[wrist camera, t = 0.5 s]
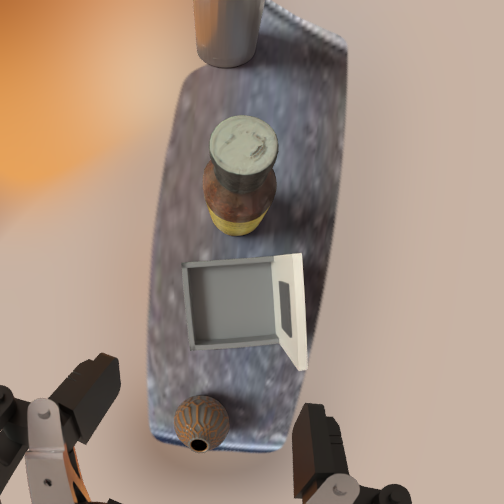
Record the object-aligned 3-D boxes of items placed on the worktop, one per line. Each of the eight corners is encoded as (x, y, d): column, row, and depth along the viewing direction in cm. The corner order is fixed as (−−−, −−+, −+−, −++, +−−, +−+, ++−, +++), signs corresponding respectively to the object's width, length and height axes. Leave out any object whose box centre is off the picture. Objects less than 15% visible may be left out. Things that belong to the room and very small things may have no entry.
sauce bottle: (269, 225, 35) (322, 182, 16) (222, 245, 35) (219, 223, 15) (248, 178, 35) (274, 91, 15) (202, 197, 35) (177, 123, 15)
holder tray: (185, 262, 34) (164, 263, 22) (275, 256, 35) (301, 253, 23) (192, 343, 34) (178, 381, 22) (281, 336, 35) (307, 369, 23)
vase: (213, 436, 34) (212, 473, 25) (170, 414, 33) (158, 450, 24) (238, 402, 34) (242, 438, 25) (192, 379, 34) (184, 411, 25)
